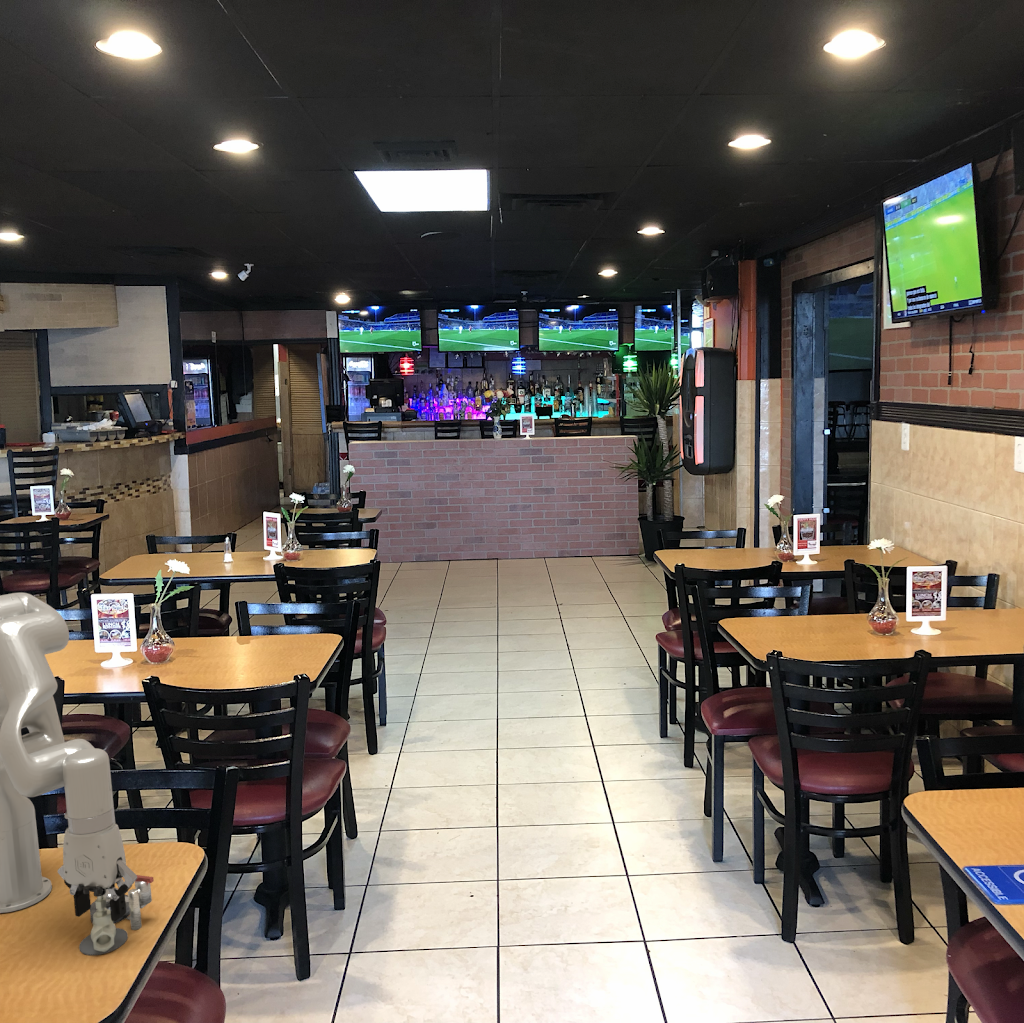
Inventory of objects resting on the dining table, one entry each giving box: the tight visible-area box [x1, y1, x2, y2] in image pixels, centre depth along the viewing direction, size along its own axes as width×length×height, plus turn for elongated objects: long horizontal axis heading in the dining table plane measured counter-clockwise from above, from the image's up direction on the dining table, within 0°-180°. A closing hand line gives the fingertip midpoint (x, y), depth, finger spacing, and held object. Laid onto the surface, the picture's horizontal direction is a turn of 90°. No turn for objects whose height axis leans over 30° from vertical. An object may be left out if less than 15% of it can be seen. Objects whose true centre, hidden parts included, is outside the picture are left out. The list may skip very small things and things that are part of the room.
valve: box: [79, 876, 118, 952], centre depth 165 cm, size 7×7×12 cm
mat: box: [78, 927, 129, 956], centre depth 167 cm, size 8×8×1 cm
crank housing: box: [89, 888, 142, 931], centre depth 175 cm, size 12×7×7 cm, turn 74°
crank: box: [103, 874, 154, 909], centre depth 174 cm, size 12×4×6 cm, turn 72°
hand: (101, 914), depth 167 cm, fingers open, 7 cm apart
